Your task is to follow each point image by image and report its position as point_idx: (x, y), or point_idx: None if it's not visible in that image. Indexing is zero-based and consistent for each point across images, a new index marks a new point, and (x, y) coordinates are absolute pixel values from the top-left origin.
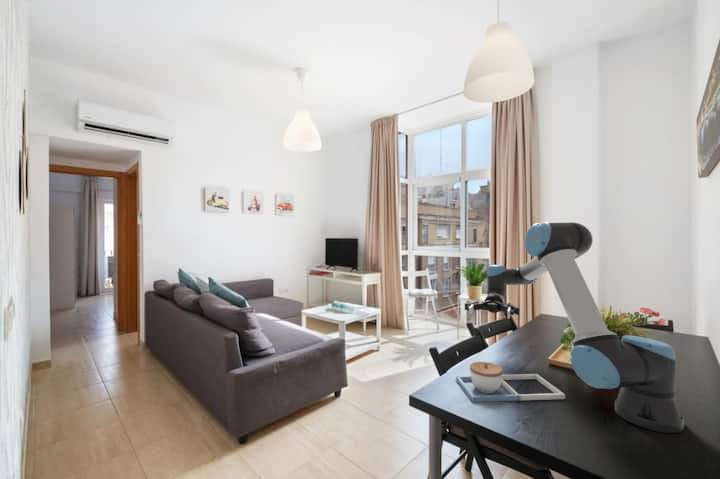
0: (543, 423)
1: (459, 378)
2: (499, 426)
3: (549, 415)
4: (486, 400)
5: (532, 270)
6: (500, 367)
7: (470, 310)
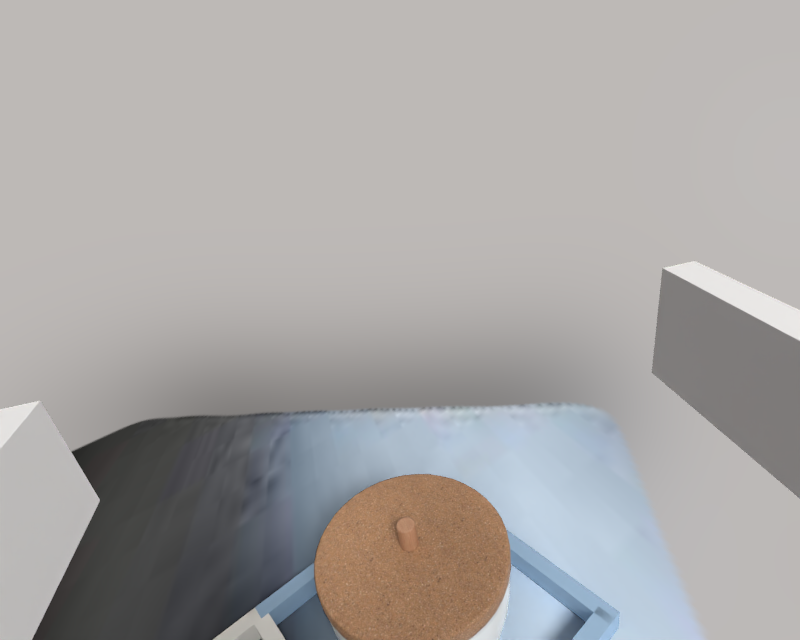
0: (194, 514)
1: (579, 593)
2: (321, 431)
3: (156, 577)
4: None
5: None
6: (329, 604)
7: (664, 308)
